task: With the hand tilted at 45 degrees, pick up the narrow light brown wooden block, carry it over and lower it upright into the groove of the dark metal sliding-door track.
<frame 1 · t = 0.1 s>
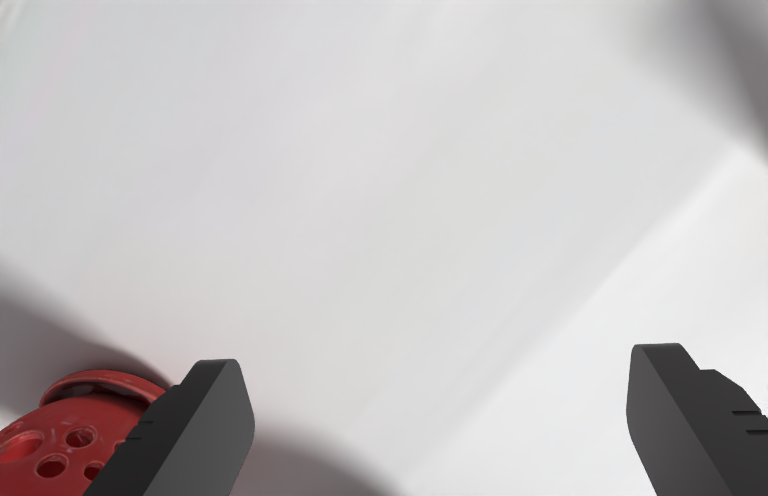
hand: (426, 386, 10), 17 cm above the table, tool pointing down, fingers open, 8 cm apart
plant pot: (131, 418, 38), on the table
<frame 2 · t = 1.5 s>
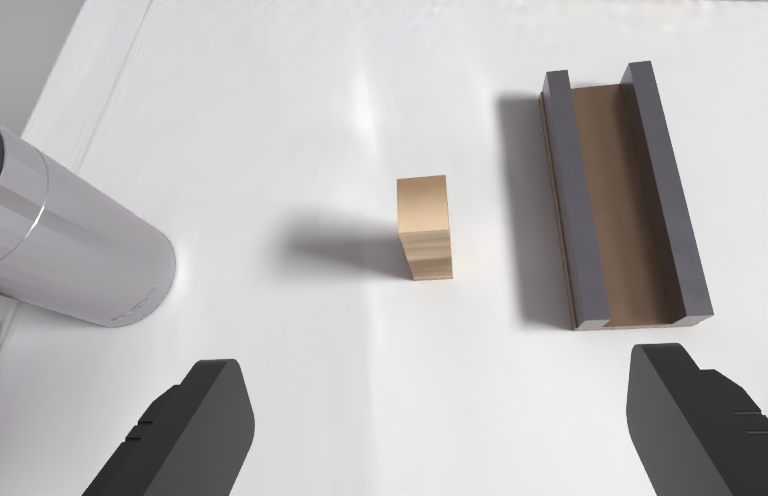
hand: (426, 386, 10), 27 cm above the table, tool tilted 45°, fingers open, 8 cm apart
light brown wooden block: (432, 257, 40), on the table
door track: (607, 201, 39), on the table
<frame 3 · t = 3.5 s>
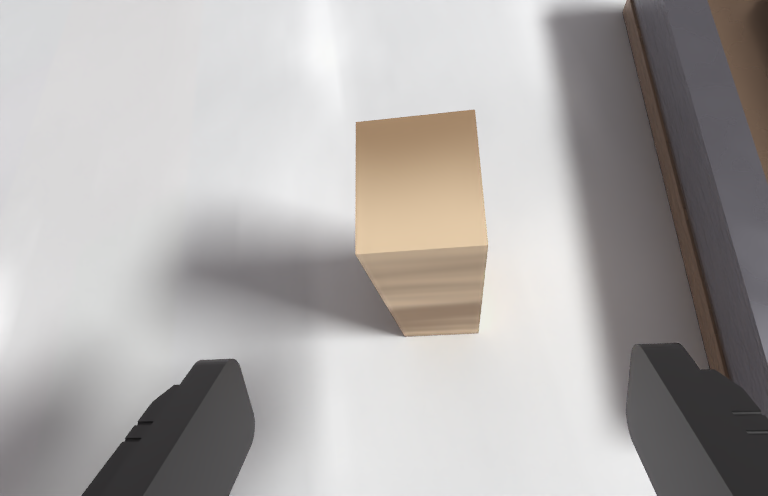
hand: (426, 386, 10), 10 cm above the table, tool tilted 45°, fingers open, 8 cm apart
light brown wooden block: (438, 292, 21), on the table
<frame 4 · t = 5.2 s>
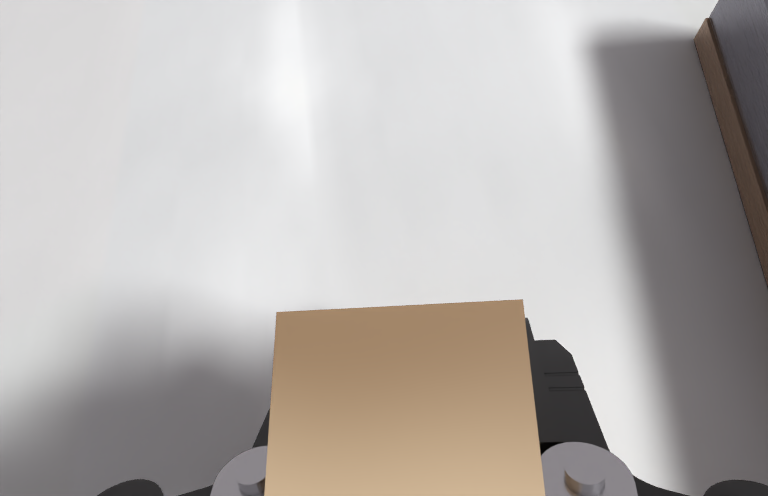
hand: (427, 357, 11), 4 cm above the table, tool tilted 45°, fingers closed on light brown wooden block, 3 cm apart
light brown wooden block: (443, 451, 15), on the table, touching gripper
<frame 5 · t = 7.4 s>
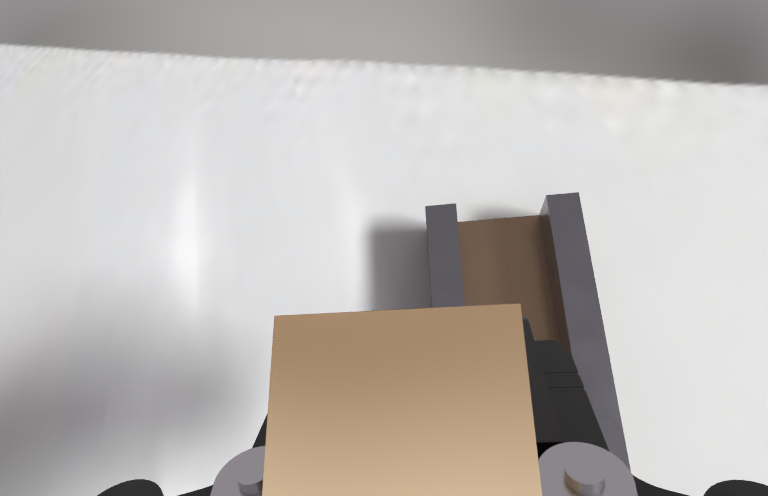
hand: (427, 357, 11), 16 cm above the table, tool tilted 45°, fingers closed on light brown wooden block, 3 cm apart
light brown wooden block: (442, 453, 15), point 12 cm above the table, touching gripper
door track: (517, 405, 26), on the table
when the fingers open (6 cm above the table, at t = 9.5 s): light brown wooden block stays where it is, resting on door track.
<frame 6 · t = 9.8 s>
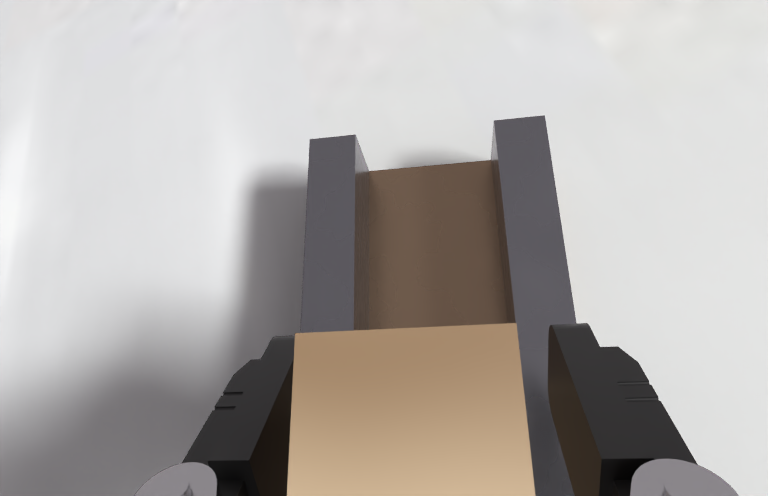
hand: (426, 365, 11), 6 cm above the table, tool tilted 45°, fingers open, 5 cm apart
light brown wooden block: (444, 454, 15), point 1 cm above the table, touching door track
door track: (444, 450, 16), on the table
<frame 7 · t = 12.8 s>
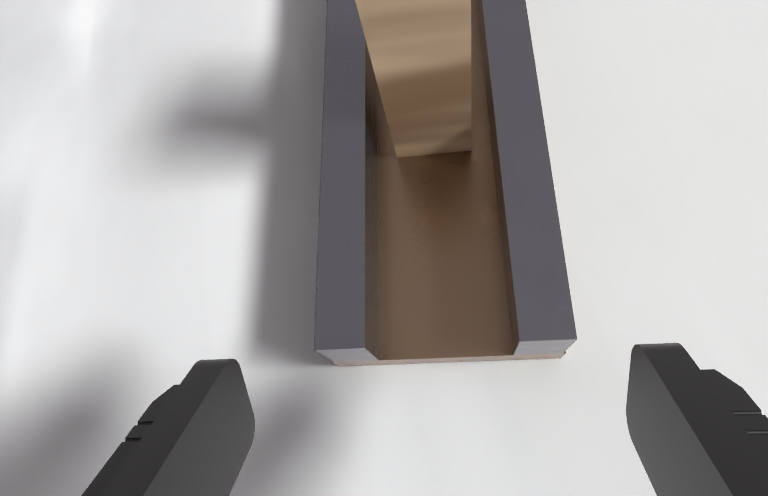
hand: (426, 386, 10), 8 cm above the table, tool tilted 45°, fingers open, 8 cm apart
light brown wooden block: (431, 116, 21), point 1 cm above the table, touching door track
door track: (433, 128, 22), on the table
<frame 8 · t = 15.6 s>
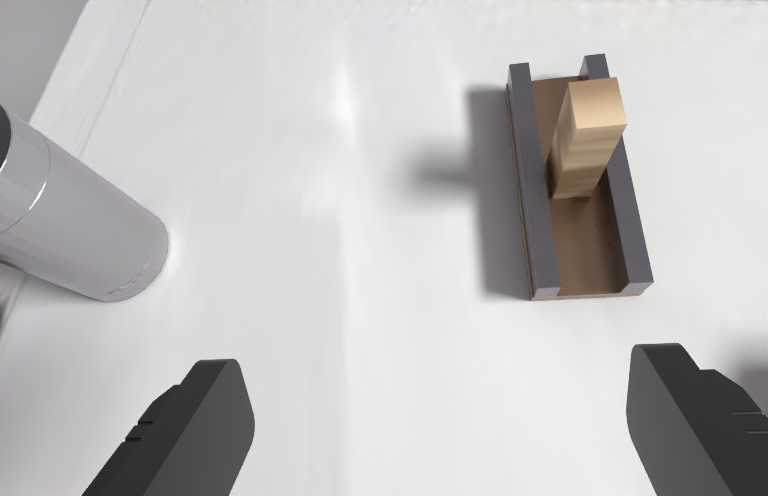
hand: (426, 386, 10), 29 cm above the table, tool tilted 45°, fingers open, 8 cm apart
light brown wooden block: (568, 178, 41), point 1 cm above the table, touching door track
door track: (565, 183, 42), on the table
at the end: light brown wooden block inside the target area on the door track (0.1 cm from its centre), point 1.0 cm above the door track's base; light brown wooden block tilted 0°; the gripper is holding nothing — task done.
